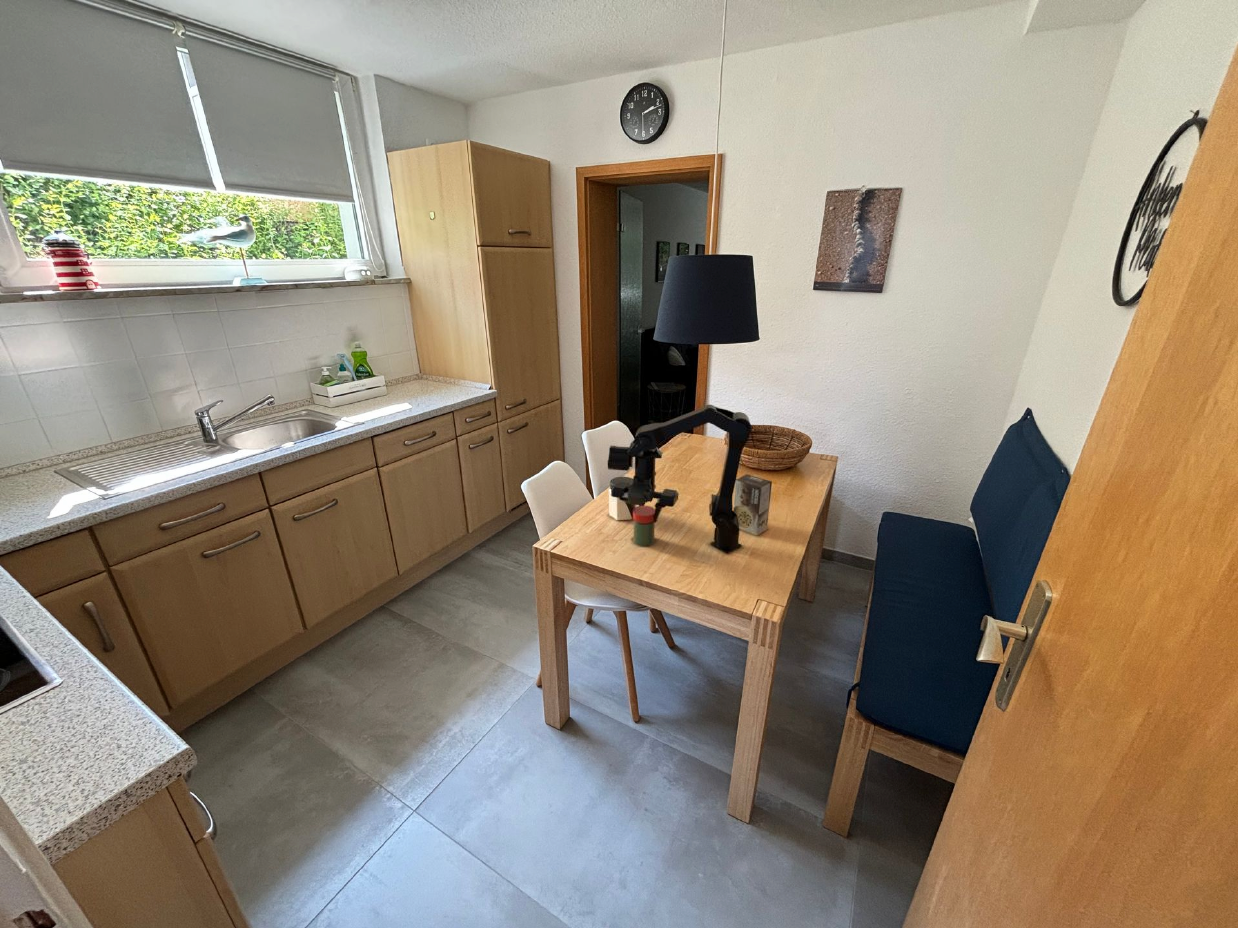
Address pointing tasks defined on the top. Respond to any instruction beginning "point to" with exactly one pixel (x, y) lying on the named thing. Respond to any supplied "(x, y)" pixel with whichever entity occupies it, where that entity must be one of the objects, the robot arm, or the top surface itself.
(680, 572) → the top surface
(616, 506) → the jar
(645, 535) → the green jar
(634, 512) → the lid
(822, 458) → the top surface
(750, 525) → the coffee box
